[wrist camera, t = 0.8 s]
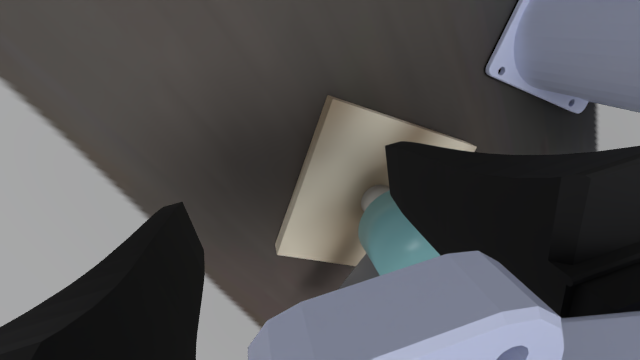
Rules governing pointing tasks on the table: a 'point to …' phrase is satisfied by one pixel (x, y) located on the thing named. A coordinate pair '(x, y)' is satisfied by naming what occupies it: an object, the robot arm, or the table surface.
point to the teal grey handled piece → (387, 242)
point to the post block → (345, 180)
